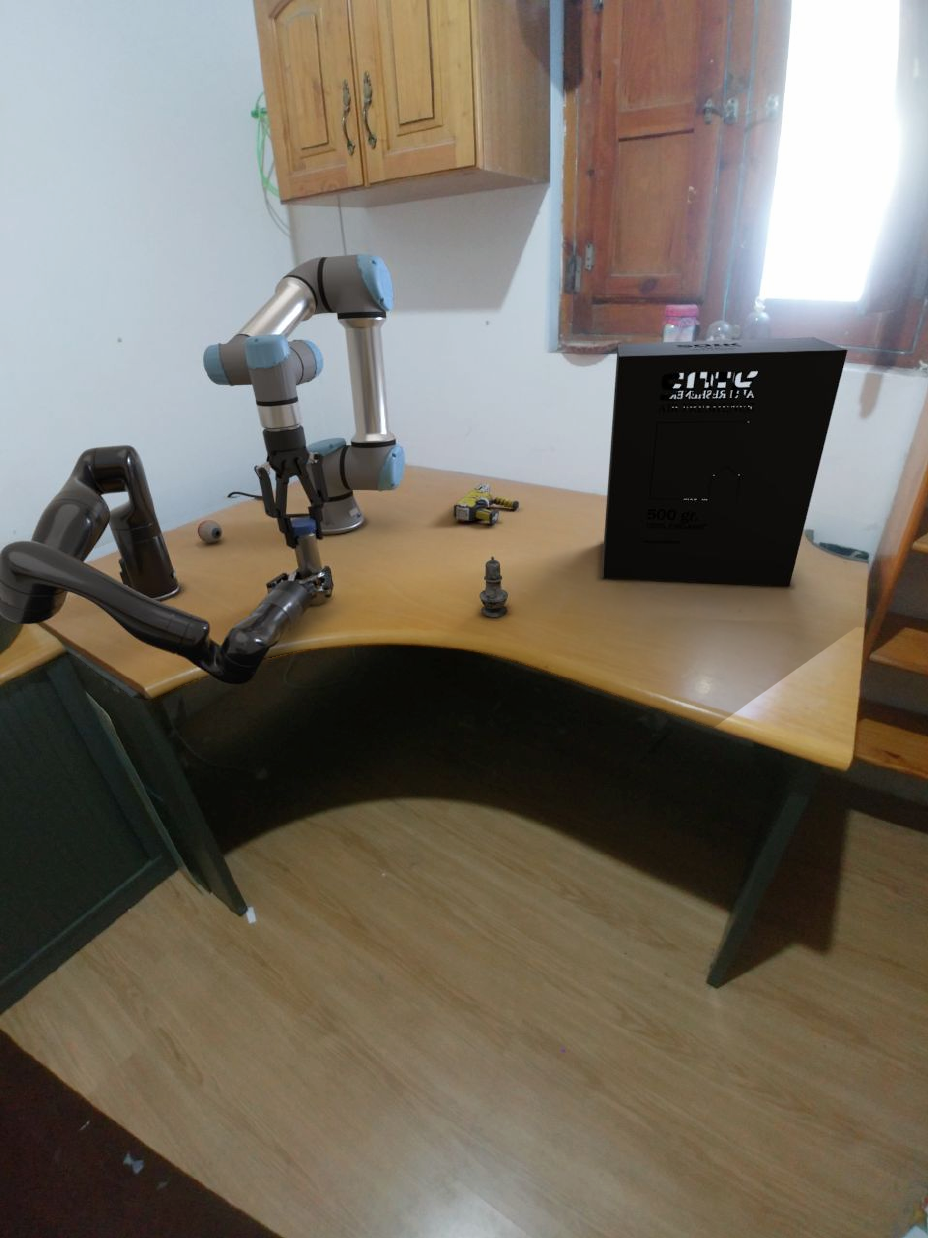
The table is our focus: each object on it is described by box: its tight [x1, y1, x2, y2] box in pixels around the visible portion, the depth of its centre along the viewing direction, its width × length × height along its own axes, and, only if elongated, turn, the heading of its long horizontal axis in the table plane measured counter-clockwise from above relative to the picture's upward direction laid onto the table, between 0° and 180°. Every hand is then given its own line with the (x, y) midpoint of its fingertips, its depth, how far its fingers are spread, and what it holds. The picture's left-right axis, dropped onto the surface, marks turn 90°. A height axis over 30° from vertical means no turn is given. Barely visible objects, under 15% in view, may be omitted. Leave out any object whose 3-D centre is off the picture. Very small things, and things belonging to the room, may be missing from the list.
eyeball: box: [197, 519, 223, 544], centre depth 161 cm, size 6×6×6 cm
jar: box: [293, 531, 329, 607], centre depth 126 cm, size 5×5×17 cm
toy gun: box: [452, 482, 520, 526], centre depth 172 cm, size 5×24×15 cm
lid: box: [291, 517, 317, 536], centre depth 122 cm, size 6×6×2 cm
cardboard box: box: [602, 336, 849, 588], centre depth 126 cm, size 38×20×45 cm, turn 78°
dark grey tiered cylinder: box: [478, 555, 509, 618], centre depth 119 cm, size 6×6×12 cm
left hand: (316, 569), depth 130 cm, fingers closed on jar, 4 cm apart
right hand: (305, 542), depth 124 cm, fingers closed on lid, 5 cm apart
